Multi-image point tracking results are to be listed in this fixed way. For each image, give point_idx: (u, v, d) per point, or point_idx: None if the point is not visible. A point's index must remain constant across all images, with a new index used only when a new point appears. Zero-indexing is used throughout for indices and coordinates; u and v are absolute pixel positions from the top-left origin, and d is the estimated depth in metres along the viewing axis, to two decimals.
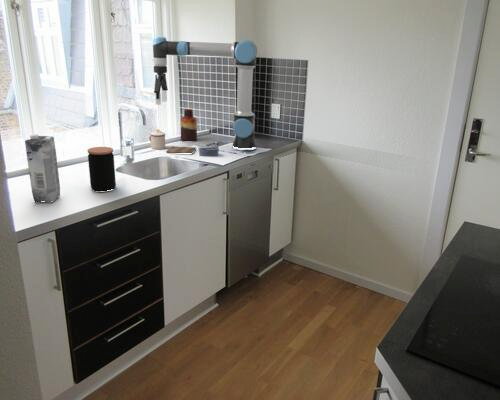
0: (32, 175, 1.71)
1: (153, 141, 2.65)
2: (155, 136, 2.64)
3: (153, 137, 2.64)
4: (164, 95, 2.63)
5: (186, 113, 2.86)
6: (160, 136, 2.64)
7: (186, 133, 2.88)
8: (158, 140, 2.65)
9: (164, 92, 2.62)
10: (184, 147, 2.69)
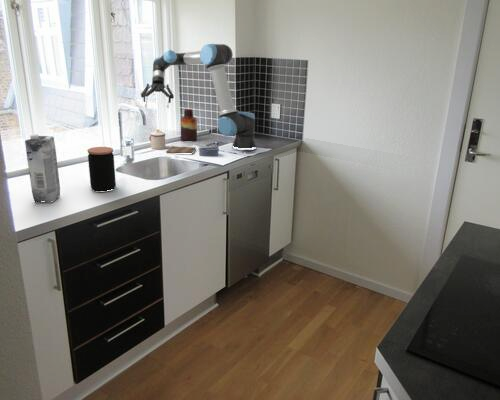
0: (32, 175, 1.71)
1: (153, 141, 2.65)
2: (155, 136, 2.64)
3: (153, 137, 2.64)
4: (167, 101, 2.75)
5: (186, 113, 2.86)
6: (160, 136, 2.64)
7: (186, 133, 2.88)
8: (158, 140, 2.65)
9: None
10: (184, 147, 2.69)
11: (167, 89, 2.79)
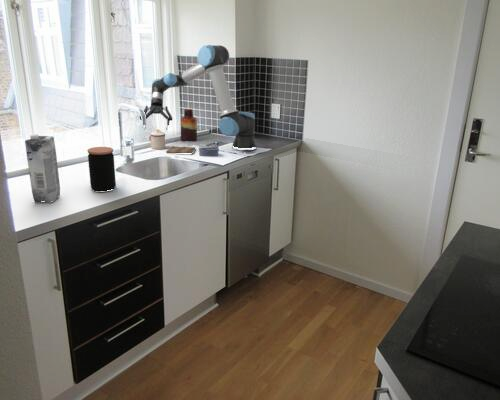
0: (32, 175, 1.71)
1: (153, 141, 2.65)
2: (155, 136, 2.64)
3: (153, 137, 2.64)
4: (166, 123, 2.75)
5: (186, 113, 2.86)
6: (160, 136, 2.64)
7: (186, 133, 2.88)
8: (158, 140, 2.65)
9: (166, 121, 2.75)
10: (184, 147, 2.69)
11: (166, 111, 2.79)
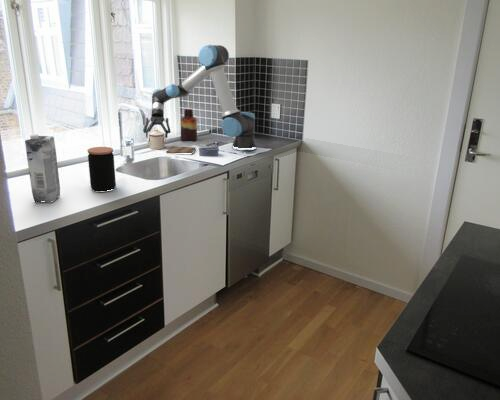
0: (32, 175, 1.71)
1: (152, 141, 2.65)
2: (154, 136, 2.63)
3: (152, 137, 2.64)
4: (164, 136, 2.68)
5: (186, 113, 2.86)
6: (159, 136, 2.64)
7: (186, 133, 2.88)
8: (157, 140, 2.64)
9: (164, 134, 2.69)
10: (184, 147, 2.69)
11: (166, 123, 2.73)
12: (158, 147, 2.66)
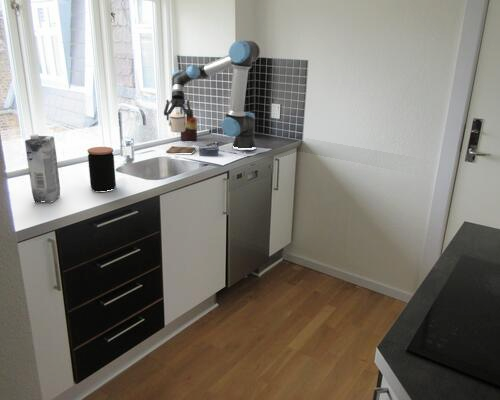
0: (32, 175, 1.71)
1: (173, 123, 2.55)
2: (175, 118, 2.53)
3: (173, 120, 2.54)
4: (185, 119, 2.59)
5: None
6: (180, 118, 2.54)
7: (186, 133, 2.88)
8: (178, 123, 2.55)
9: (185, 116, 2.59)
10: (184, 147, 2.69)
11: (187, 105, 2.63)
12: (179, 130, 2.56)
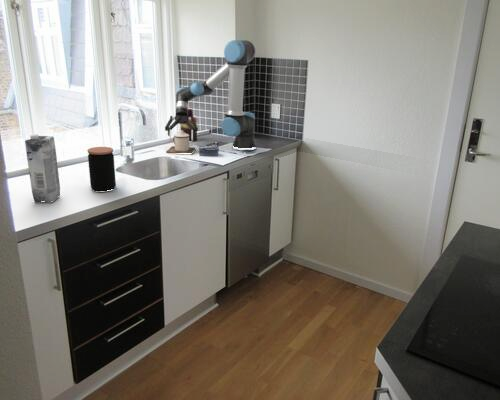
0: (32, 175, 1.71)
1: (177, 143, 2.58)
2: (179, 138, 2.56)
3: (178, 139, 2.57)
4: None
5: None
6: (184, 138, 2.57)
7: (186, 133, 2.88)
8: (183, 142, 2.58)
9: None
10: None
11: (191, 121, 2.66)
12: (183, 149, 2.59)
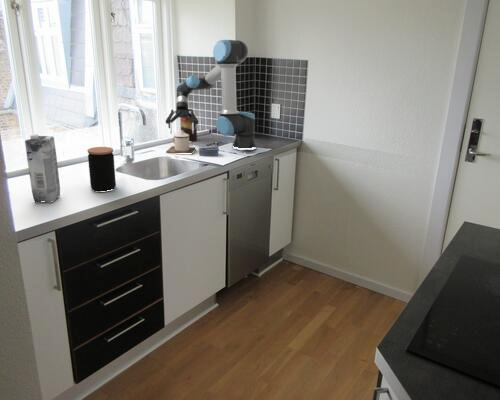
0: (32, 175, 1.71)
1: (177, 143, 2.58)
2: (179, 138, 2.56)
3: (178, 139, 2.57)
4: (192, 127, 2.73)
5: None
6: (184, 138, 2.57)
7: (186, 133, 2.88)
8: (183, 142, 2.58)
9: (192, 125, 2.74)
10: None
11: None
12: (183, 149, 2.59)
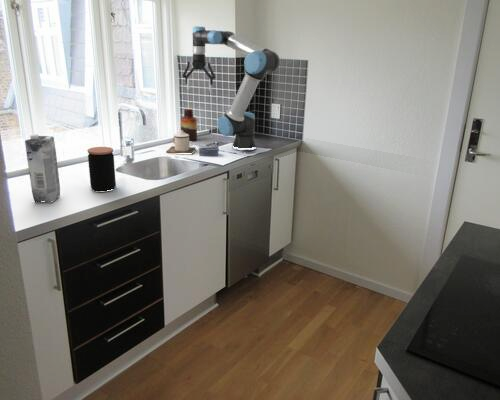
0: (32, 175, 1.71)
1: (177, 143, 2.58)
2: (179, 138, 2.56)
3: (177, 139, 2.57)
4: (209, 84, 2.70)
5: (186, 113, 2.86)
6: (184, 138, 2.57)
7: (186, 133, 2.88)
8: (183, 142, 2.58)
9: (209, 81, 2.70)
10: None
11: (208, 67, 2.67)
12: (183, 149, 2.59)
